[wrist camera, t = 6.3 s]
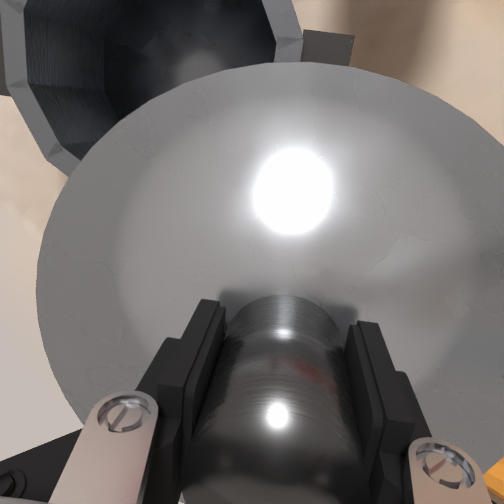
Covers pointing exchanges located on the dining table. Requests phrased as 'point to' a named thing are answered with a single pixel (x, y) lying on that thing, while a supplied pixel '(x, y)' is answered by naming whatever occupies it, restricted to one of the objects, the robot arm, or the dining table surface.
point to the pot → (134, 58)
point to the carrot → (496, 479)
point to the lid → (285, 269)
